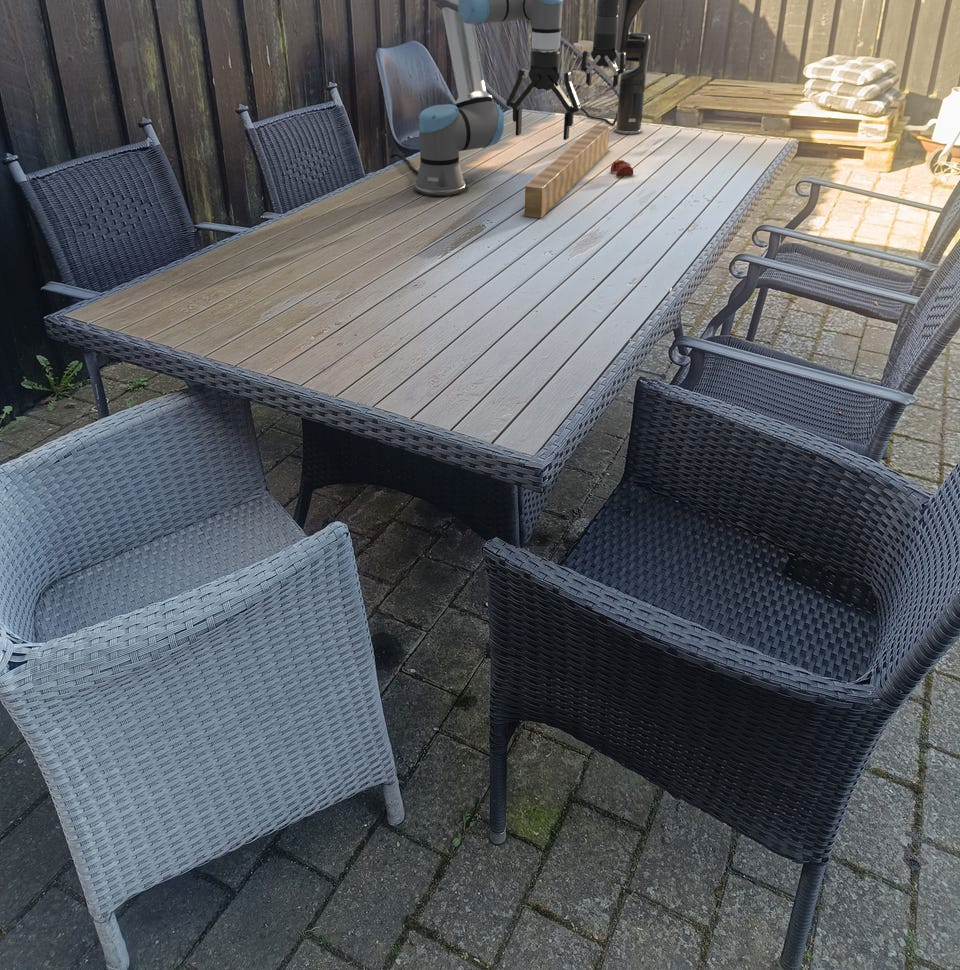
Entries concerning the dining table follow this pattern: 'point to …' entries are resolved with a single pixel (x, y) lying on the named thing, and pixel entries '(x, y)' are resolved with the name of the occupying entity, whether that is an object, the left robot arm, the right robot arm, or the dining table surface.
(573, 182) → the bar
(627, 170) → the dark red rounded lump
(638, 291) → the dining table surface
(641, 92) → the right robot arm
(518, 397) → the dining table surface
